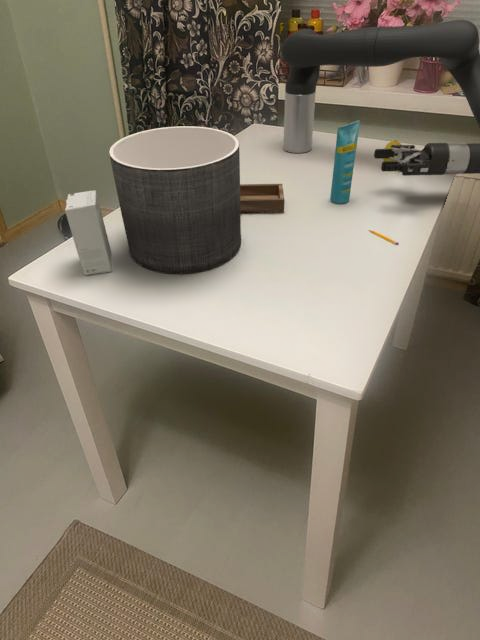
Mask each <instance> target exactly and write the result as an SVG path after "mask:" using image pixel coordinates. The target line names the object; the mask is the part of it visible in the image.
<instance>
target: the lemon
mask: <svg viewBox="0 0 480 640" xmlns="http://www.w3.org/2000/svg"><path fill="white" fill-rule="evenodd" d="M391 145H402V143H401V142H400V141H398V140H397V139H394V140H392V141H390V142H388V143H387V144H386V145H385V147H384V149H390V148H391ZM398 149H400V148H398ZM395 153H398V152H395ZM382 160H383V161H396V160H395V159H390V158H384V159H382ZM383 161H382V162H383Z"/></svg>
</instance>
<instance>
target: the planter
mask: <svg viewBox="0 0 480 640" xmlns="http://www.w3.org/2000/svg"><path fill="white" fill-rule="evenodd" d="M108 153H109V159H110V164H111V169H112V174H113V178H114V184H115V189H116V195H117V197H118V203H119V204H118V205H119V209H120V214H121V217H122V222H123V227H124V232H125V236H126V241H127V246H128V247H127V248H128V252H129V255H130V257H131V258H132V260H133V262H135V263H136V264H137V265H139V266H141V267H142V268H145V269H147V270H150V271H155V272H158V273H162V274H163V273H164V274H176V275H177V274H180V275H181V274H192V273H193V274H194V273H198V272H204V271H206V270H210V269H213V268H214V269H215V268H216V267H219V266H221V265H223V264H225V263H226V262H228V261H230V260H231V259H232V258H234V256H236V254H237V253H238V252H239V250H240V249H241V246H242V233H241V232H242V229H241V221H242V220H241V218H242V217H241V215H242V214H241V210H240V184H241V168H240V167H241V162H240V161H241V159H240V155H241V153H240V141H239V140H238V138H237V137H236V136H234V135H233V134H232V133H229V132H227V131H224V130H221V129H217V128H213V127H205V126H195V125H194V126H193V125H191V126H189V125H188V126H187V125H185V126H184V125H183V126H181V125H180V126H166V127H160V128H159V127H157V128H152V129H147V130H142V131H138V132H136V133H132V134H130V135H129V134H128V135H127V136H125V137H123V138H120V139H118V140H117V141H116V142H114V143H113V144H112V145H111V146H110V148H109V150H108Z"/></svg>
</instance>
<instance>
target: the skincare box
mask: <svg viewBox="0 0 480 640" xmlns="http://www.w3.org/2000/svg"><path fill="white" fill-rule="evenodd" d="M65 202H66V205H65V209H64V212H65V215H66V219H67V222H68V225H69V229H70V232H71V235H72V240H73V243H74V245H75V248H76V252H77V255H78V259H79V262H80V265H81V269H82V272H83V275H84V276H89V275H94V274H106V273H111V272H112V271H113V269H112V256H113V255H112V254H113V253H112V248H111V246H110V241H109V238H108V234H107V229H106V225H105V222H104V218H103V214H102V210H101V207H100V203H99V198H98V194H97V190H95V189H94V190H87V191H81V192H74V193H69V194H67V199H66V200H65Z"/></svg>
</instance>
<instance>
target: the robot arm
mask: <svg viewBox="0 0 480 640" xmlns="http://www.w3.org/2000/svg"><path fill="white" fill-rule="evenodd" d="M479 48H480V37H479V29H478V28H477V26H476V24H475V23H473V22H472V21H469V20H465V19H456V20H454V19H453V20H450V21H443V22H438V23H437V22H436V23H431V24H429V23H428V24H422V25H399V26H397V25H396V26H371V27H361V28H354V29H350V30H349V29H348V30H345V31H340V32H337V33H330V34H318V33H317V31H315V30H314V29H311V28H303V29H300V30H297V31H295V32H292V33H291V34H289V36H287V37H286V38H285V40H284V42H283V43H282V45H281V56H282V59H283V61H284V63H286V64H287V66H289V67H290V72H289V75H288V78H287V79H286V81H285V87H284V88H285V89H284V91H285V92H284V118H283V119H284V120H283V123H284V124H283V150H284V151H286V152H289V153H295V154H301V153H302V154H303V153H308V152H309V151H311V150H312V148H313V136H314V135H313V134H314V122H315V120H314V119H315V105H316V91H317V85H318V81H319V78H320V70H321V66H340V67H341V66H343V67H360V68H361V67H363V68H365V67H366V68H369V67H370V68H373V67H375V68H377V67H387V66H390V65H394V64H397V63H400V62H403V61H405V60H409V59H413V58H435V59H439V61H440V62H441V64H442V65H443V66H444V67H445V68H446V70H447V71H448V73H450V74H451V76H452V77H453V79H454V80H455V81H456V83H457V84H458V86H459V87H460V89H461V91H462V92H463V95H464V97H465V99H466V101H467V102H468V103H467V104H468V105H469V108H470V111H471V112H472V115H473V117H474V120H475V122H476V124H477V126H478V127H479V129H480V49H479ZM398 148H400V149H398ZM395 152H398V153H395ZM373 157H374V159H376V160H377V159H378V160H379V159H382V160H383V159H384V158H390V159H395V160H396V161H382V162H381V167H380V170H381V172H397V173H398V174H399V173H400V174H401V176H404V177H406V176H455V175H466V174H468V175H471V174H478V175H479V174H480V143H478V142H477V143H475V142H474V143H462V142H429V143H426V144H425V145H424V148H422V149H421V150H419V149H417V148H416V145H414V144H410V145H409V144H401V145H391V148H390V149H385V148H375V150H374V153H373Z"/></svg>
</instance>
